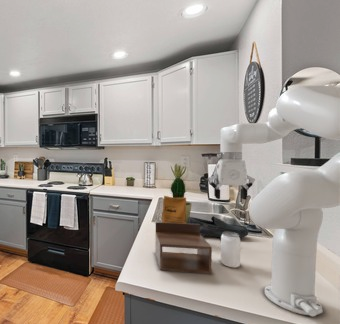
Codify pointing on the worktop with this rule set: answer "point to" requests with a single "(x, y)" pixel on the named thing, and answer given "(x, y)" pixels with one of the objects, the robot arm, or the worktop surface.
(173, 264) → the shelf
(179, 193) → the potted cactus
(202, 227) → the loafer
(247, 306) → the worktop surface
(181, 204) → the coffee package
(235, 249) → the can
